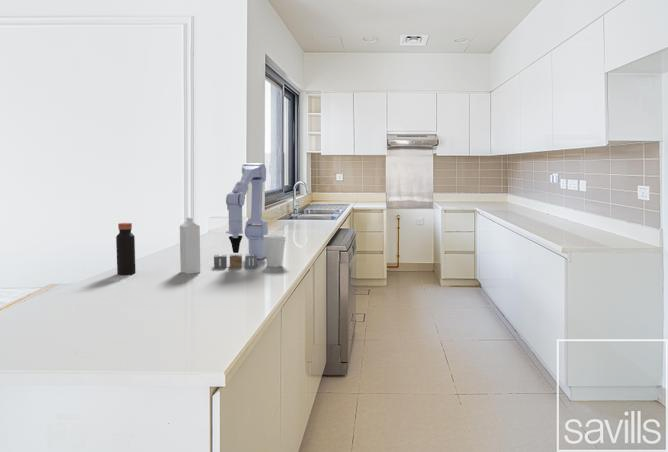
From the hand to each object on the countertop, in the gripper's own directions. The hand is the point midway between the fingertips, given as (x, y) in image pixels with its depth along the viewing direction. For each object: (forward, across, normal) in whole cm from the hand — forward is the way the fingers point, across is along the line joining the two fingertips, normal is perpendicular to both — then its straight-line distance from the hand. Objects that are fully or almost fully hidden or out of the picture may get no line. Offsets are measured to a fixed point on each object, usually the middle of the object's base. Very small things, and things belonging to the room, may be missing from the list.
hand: (235, 252), depth 240 cm
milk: (+6, +11, -18) cm, 22 cm away
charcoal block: (+6, 0, -6) cm, 9 cm away
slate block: (+6, 0, +6) cm, 9 cm away
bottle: (+6, +12, -42) cm, 44 cm away
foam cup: (+6, -1, +16) cm, 18 cm away
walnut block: (+6, 0, 0) cm, 6 cm away
